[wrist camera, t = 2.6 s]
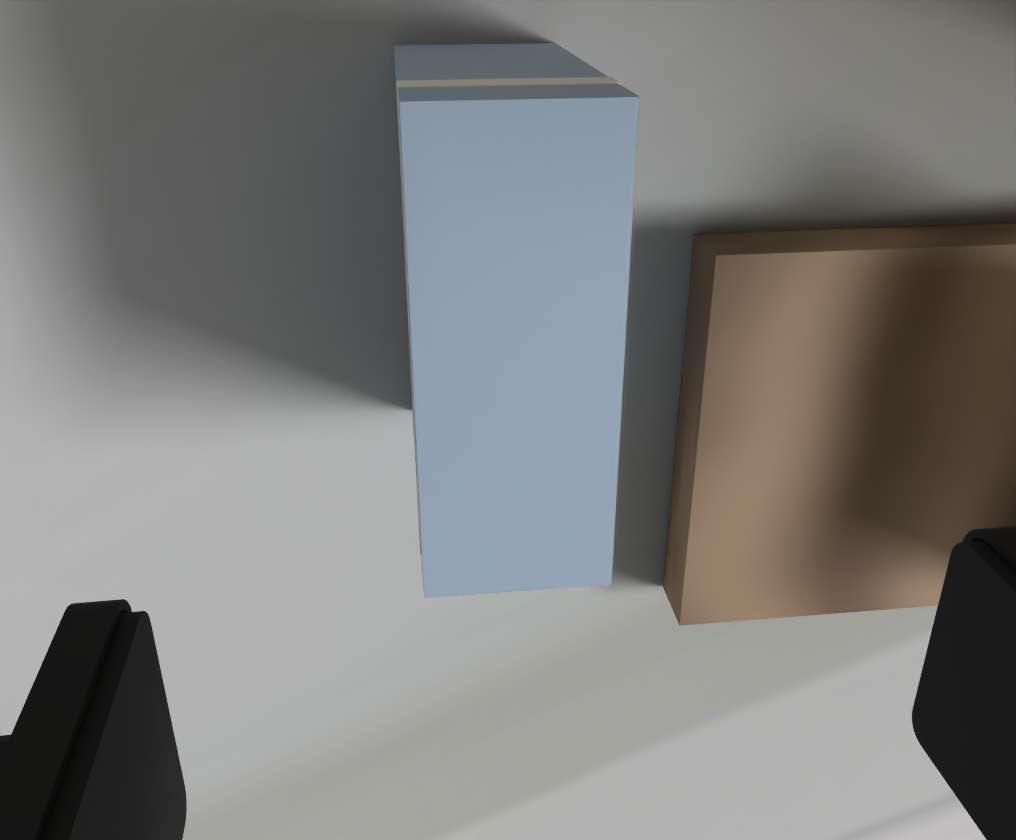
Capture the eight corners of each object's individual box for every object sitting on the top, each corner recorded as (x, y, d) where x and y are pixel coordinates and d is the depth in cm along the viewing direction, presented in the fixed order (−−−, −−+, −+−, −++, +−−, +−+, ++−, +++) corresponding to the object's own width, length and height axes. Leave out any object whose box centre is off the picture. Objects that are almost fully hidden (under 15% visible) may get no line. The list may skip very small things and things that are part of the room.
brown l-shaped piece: (1096, 220, 28) (1382, 334, 20) (1001, 562, 33) (1196, 759, 25) (693, 234, 27) (827, 362, 19) (663, 587, 32) (756, 803, 24)
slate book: (555, 42, 24) (640, 95, 16) (548, 403, 29) (612, 584, 21) (392, 43, 24) (398, 100, 16) (411, 410, 28) (423, 598, 20)
